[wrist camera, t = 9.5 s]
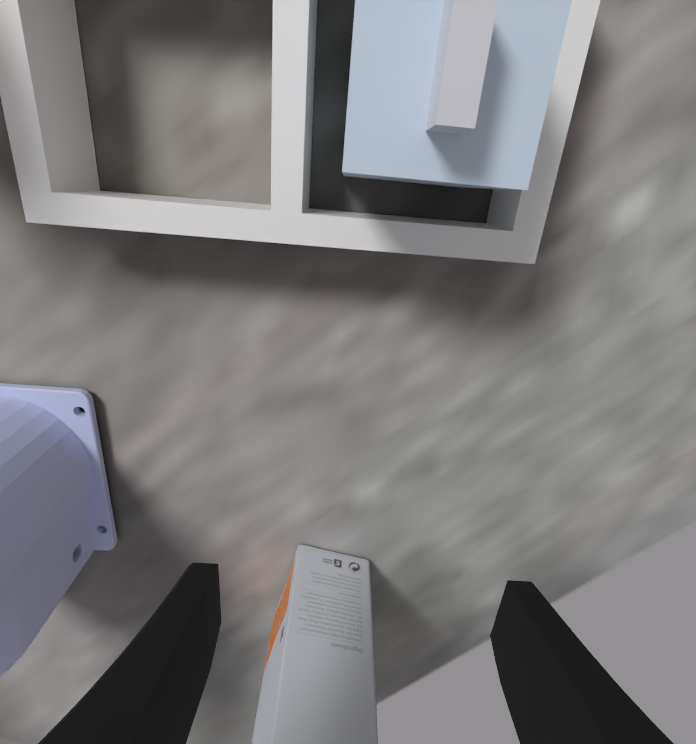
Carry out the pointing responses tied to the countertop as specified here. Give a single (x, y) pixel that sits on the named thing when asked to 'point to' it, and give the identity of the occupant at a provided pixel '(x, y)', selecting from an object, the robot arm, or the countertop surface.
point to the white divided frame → (288, 151)
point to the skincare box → (320, 655)
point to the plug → (450, 90)
